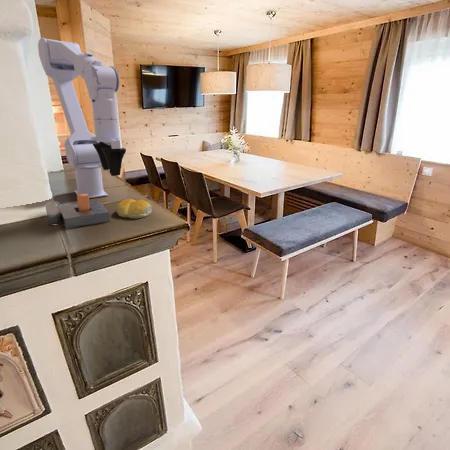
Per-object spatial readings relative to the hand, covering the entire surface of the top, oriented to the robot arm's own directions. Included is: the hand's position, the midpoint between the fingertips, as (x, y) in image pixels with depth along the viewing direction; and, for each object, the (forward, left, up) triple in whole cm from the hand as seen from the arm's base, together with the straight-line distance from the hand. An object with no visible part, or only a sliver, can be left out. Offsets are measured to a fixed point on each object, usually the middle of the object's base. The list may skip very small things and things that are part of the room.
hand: (111, 172), depth 83 cm
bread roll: (+7, +3, -10) cm, 13 cm away
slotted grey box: (+5, -10, -10) cm, 15 cm away
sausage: (+5, -9, -10) cm, 14 cm away
